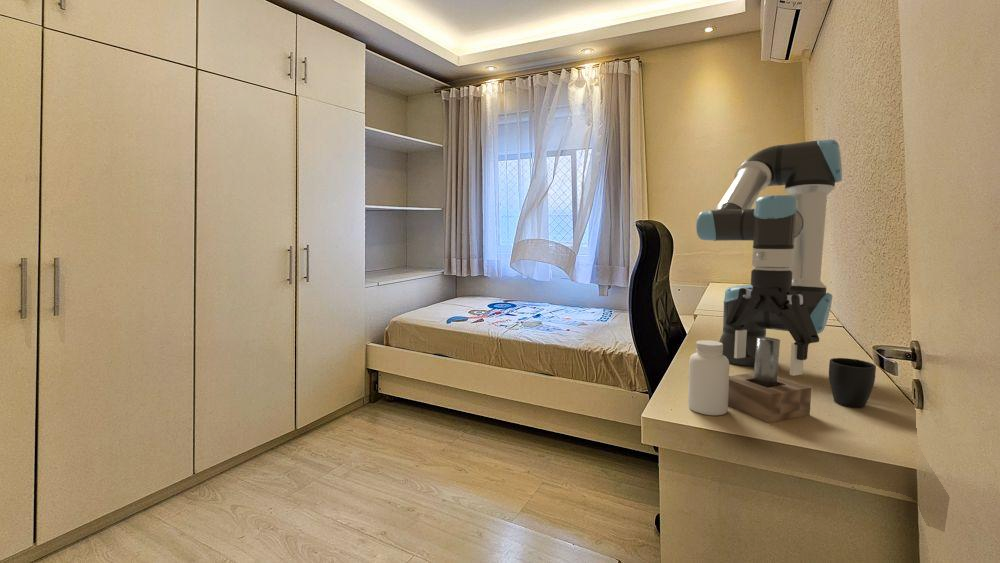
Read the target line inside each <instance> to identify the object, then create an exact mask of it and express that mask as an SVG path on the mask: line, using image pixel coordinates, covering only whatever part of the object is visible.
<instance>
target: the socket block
mask: <svg viewBox="0 0 1000 563" xmlns="http://www.w3.org/2000/svg"><path fill="white" fill-rule="evenodd" d="M753 382H754V372H749V373H748V372H747V373H741V374H734V375H729V391H728V407H730V408H733V409H734V410H737V411H739V412H741V413H744V414H746V415H749V416H751V417H754V418H756V419H758V420H760V421H763V422H765V423H767V424H771V423H775V422H780V421H786V420H791V419H795V418H796V419H797V418H800V417H806V416H810V414H811V401H812V387H811V386H807V385H805V384H801V383H798V382H796V381H792V380H789V379H787V378H784V377H779V376H777V386H775V387H769V388H767V387H764V386H761V385H758V384H755V383H753Z"/></svg>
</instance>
